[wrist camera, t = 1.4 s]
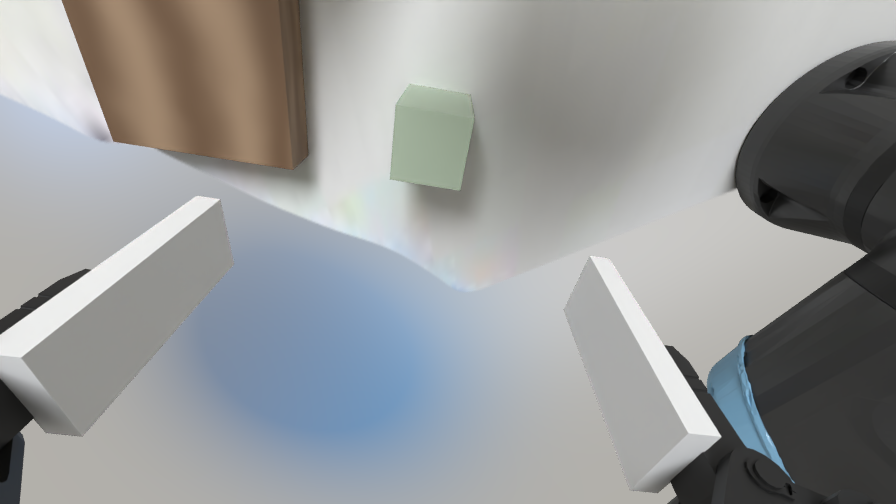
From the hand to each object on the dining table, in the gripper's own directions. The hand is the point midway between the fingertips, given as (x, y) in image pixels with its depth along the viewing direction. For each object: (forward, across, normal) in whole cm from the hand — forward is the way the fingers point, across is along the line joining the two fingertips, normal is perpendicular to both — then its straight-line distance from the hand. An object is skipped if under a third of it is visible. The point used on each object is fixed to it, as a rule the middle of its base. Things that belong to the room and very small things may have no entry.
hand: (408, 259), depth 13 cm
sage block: (+21, 0, 0) cm, 21 cm away
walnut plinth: (+21, +18, -2) cm, 28 cm away
